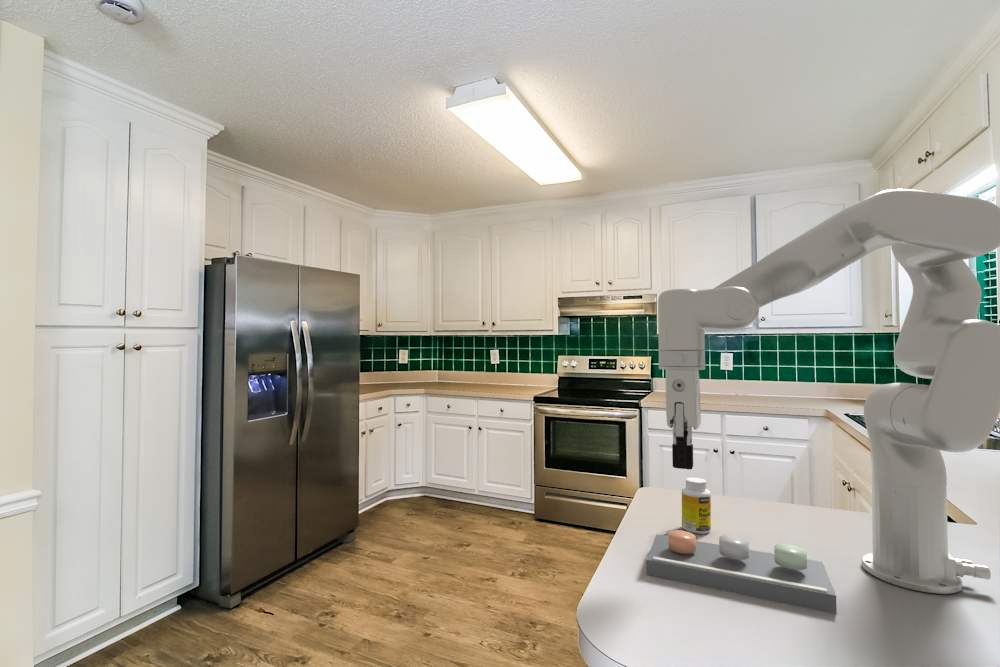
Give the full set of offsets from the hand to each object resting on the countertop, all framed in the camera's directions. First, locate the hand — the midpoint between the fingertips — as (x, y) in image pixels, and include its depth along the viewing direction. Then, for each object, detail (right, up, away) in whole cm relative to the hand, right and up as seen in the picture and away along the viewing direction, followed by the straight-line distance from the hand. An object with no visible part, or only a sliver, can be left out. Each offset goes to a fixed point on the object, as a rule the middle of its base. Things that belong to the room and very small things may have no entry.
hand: (682, 467), depth 83 cm
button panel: (+7, -17, -4) cm, 19 cm away
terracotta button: (0, -14, 0) cm, 14 cm away
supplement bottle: (+9, -18, +16) cm, 25 cm away
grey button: (+7, -13, -4) cm, 15 cm away
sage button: (+14, -13, -7) cm, 21 cm away
